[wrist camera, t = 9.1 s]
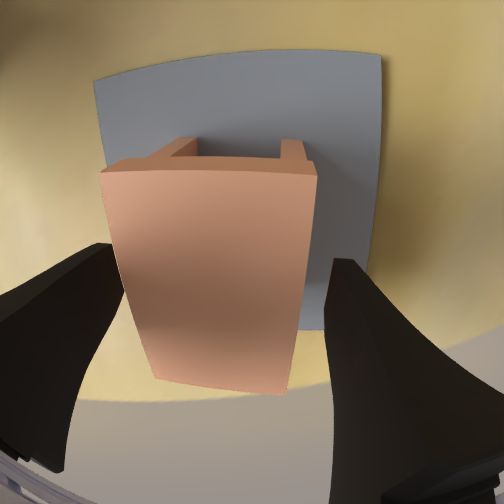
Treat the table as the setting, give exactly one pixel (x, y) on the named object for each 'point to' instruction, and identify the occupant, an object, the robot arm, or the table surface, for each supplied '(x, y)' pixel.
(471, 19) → the table surface
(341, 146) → the slate mat
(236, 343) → the terracotta stool
